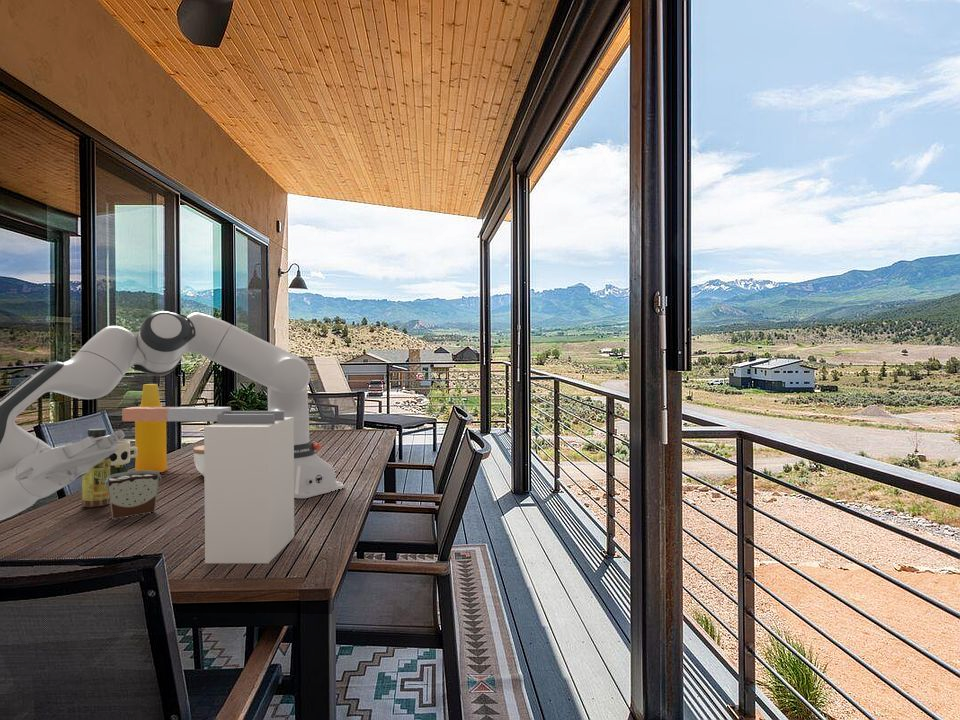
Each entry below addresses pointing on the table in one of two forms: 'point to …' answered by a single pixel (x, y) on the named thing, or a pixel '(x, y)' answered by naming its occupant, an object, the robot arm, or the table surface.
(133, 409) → the knife
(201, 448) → the lidded bowl
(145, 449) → the yellow bottle
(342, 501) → the table surface
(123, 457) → the character mug
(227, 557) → the stand
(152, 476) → the half round cake
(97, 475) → the sauce bottle
